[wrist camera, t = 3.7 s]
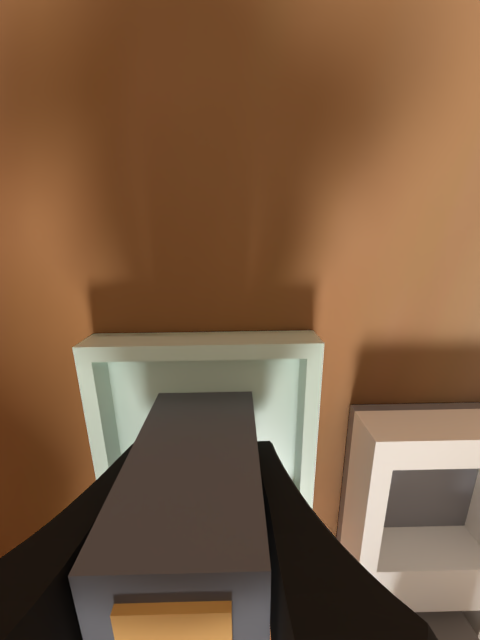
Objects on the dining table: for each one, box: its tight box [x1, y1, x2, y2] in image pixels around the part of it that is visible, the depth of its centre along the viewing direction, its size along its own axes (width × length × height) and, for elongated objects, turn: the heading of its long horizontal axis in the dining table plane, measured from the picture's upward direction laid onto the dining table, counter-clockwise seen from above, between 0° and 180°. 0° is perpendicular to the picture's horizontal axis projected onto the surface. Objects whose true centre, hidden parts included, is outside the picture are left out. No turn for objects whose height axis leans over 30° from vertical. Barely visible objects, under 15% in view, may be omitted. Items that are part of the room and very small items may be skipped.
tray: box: [72, 330, 324, 509], centre depth 13 cm, size 9×9×2 cm
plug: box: [68, 391, 271, 640], centre depth 10 cm, size 4×4×7 cm
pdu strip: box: [336, 402, 480, 640], centre depth 14 cm, size 7×16×2 cm, turn 1°
